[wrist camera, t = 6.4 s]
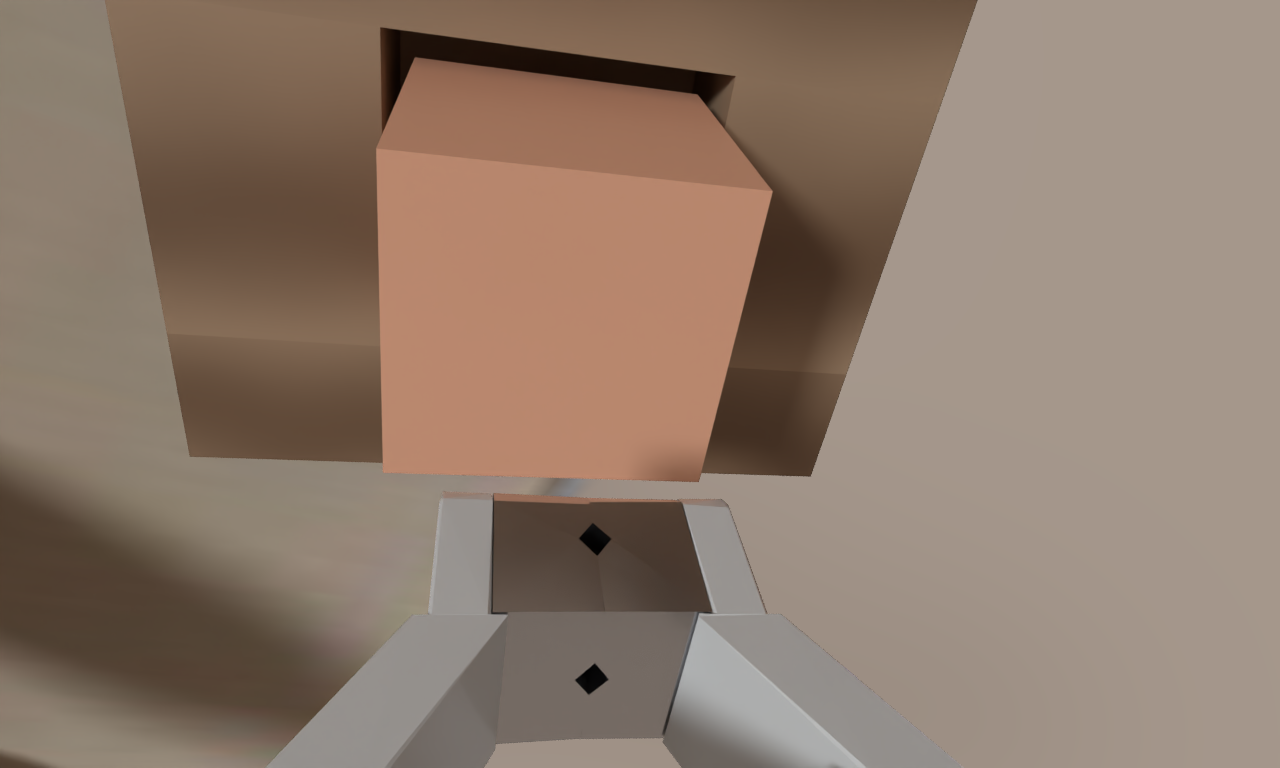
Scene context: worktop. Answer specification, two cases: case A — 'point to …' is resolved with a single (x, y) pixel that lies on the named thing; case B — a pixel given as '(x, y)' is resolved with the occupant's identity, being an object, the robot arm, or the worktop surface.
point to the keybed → (523, 41)
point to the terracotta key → (557, 274)
